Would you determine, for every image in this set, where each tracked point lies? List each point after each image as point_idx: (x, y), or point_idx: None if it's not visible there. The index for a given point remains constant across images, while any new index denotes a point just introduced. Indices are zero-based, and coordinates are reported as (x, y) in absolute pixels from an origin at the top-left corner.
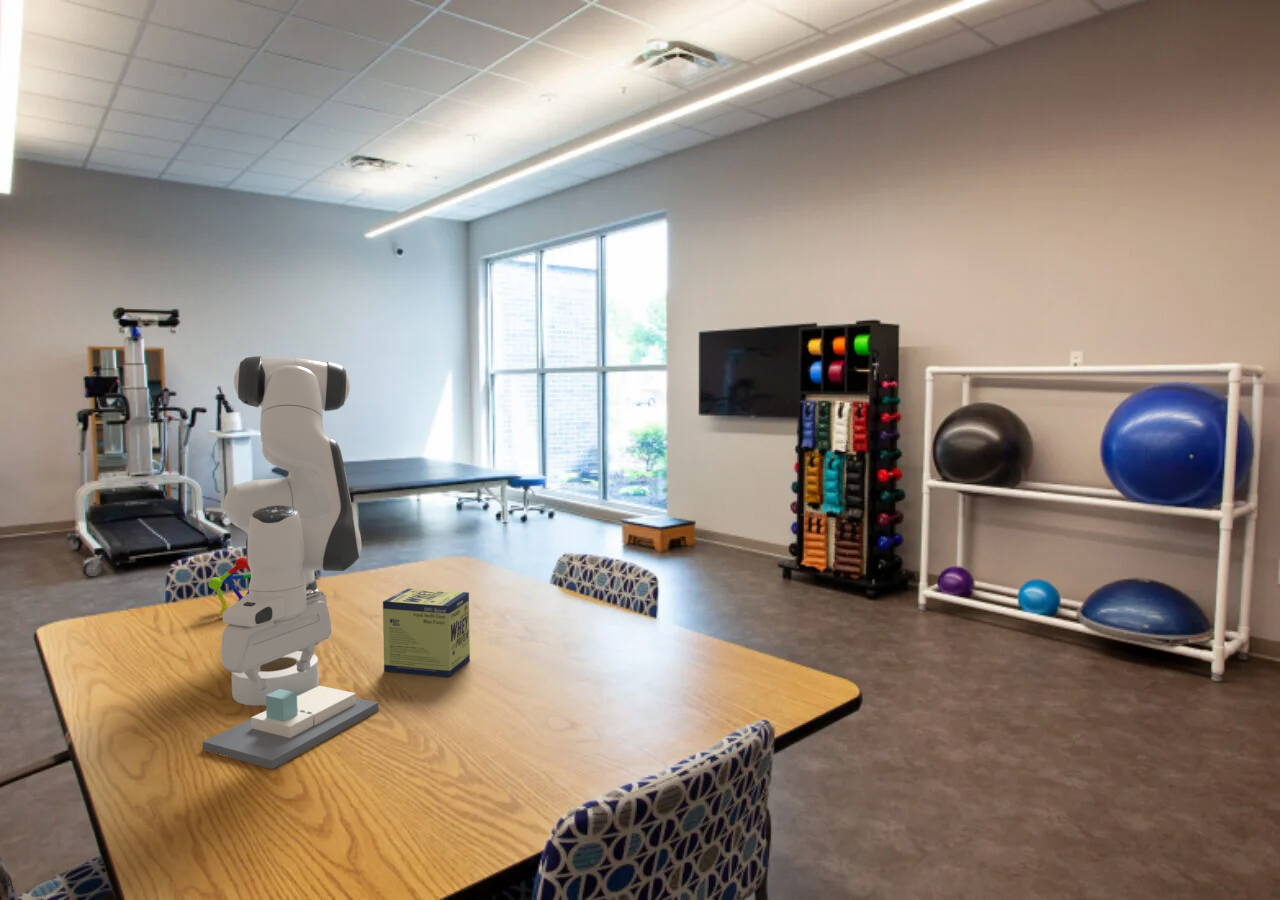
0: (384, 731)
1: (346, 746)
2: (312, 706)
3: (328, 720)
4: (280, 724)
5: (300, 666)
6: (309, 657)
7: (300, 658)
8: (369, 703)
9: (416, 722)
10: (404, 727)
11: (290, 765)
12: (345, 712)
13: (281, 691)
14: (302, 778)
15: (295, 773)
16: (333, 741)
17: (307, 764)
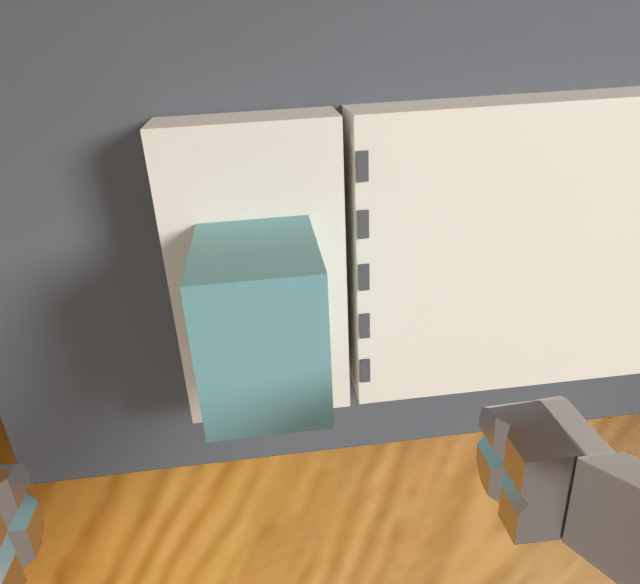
0: (467, 527)
1: (318, 514)
2: (435, 318)
3: None
4: (183, 365)
5: (505, 471)
6: (608, 570)
7: (594, 472)
8: (630, 388)
9: (563, 554)
10: (517, 552)
11: (103, 477)
12: None
13: (298, 325)
14: (75, 570)
15: (79, 531)
16: (326, 454)
17: (147, 514)
